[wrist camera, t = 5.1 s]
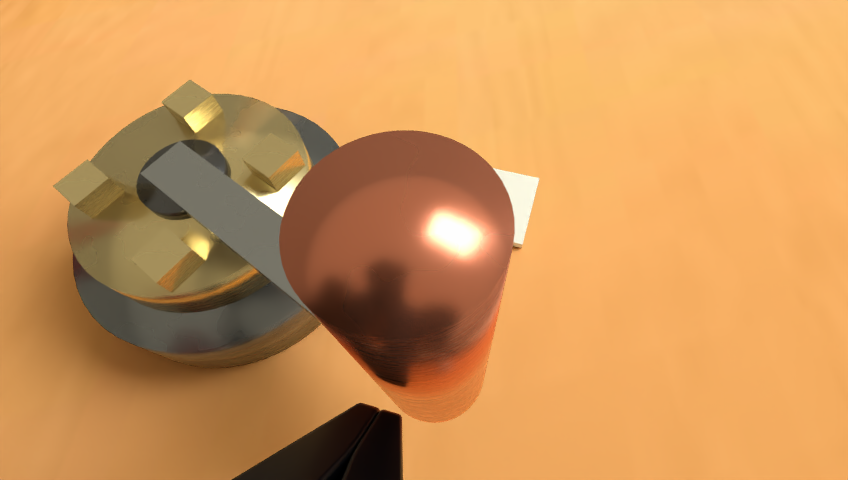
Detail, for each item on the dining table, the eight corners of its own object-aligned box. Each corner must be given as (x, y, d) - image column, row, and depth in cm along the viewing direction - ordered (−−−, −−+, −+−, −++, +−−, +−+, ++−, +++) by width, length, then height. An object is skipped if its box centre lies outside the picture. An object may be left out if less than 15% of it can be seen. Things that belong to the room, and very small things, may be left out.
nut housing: (192, 431, 20) (149, 424, 17) (79, 238, 25) (32, 209, 22) (418, 243, 23) (412, 212, 20) (277, 107, 28) (258, 68, 25)
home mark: (521, 248, 22) (522, 244, 22) (443, 228, 23) (443, 225, 23) (538, 182, 24) (539, 178, 24) (464, 166, 25) (464, 162, 24)
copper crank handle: (59, 229, 21) (-358, -27, 10) (224, 94, 24) (37, -207, 13) (380, 547, 14) (144, 752, 4) (548, 304, 18) (680, 38, 7)
